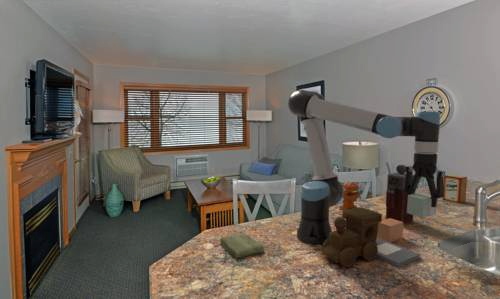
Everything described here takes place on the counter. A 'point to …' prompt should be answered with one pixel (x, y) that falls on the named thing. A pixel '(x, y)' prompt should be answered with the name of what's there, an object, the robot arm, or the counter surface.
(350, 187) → the orange lumpy rounded piece
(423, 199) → the sage brick
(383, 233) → the terracotta brick
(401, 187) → the toy vending machine
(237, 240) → the washcloth
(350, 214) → the wooden toy train
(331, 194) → the robot arm
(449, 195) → the baking soda box
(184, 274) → the counter surface
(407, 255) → the base plate
